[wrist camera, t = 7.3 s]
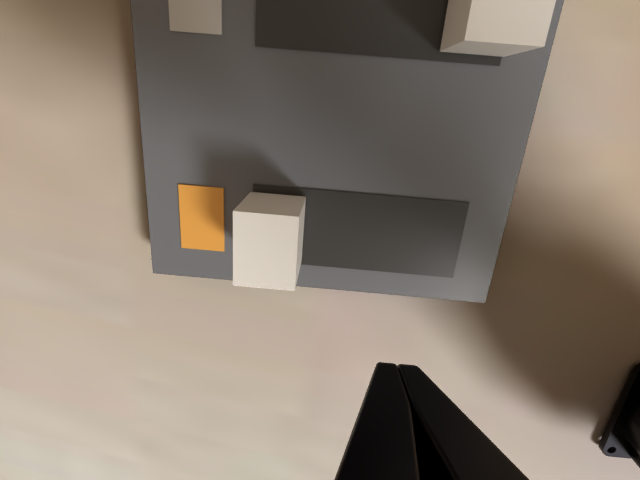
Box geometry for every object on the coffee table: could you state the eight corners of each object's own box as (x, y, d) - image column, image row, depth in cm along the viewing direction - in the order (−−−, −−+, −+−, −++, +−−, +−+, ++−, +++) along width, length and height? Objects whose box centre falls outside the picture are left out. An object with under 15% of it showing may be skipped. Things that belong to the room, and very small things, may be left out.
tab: (301, 260, 18) (294, 291, 15) (249, 255, 18) (233, 285, 15) (305, 196, 17) (299, 216, 14) (250, 191, 17) (232, 211, 14)
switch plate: (471, 283, 20) (485, 304, 18) (170, 257, 20) (152, 274, 18) (640, -416, 12) (701, -520, 10) (124, -449, 12) (82, -556, 10)
